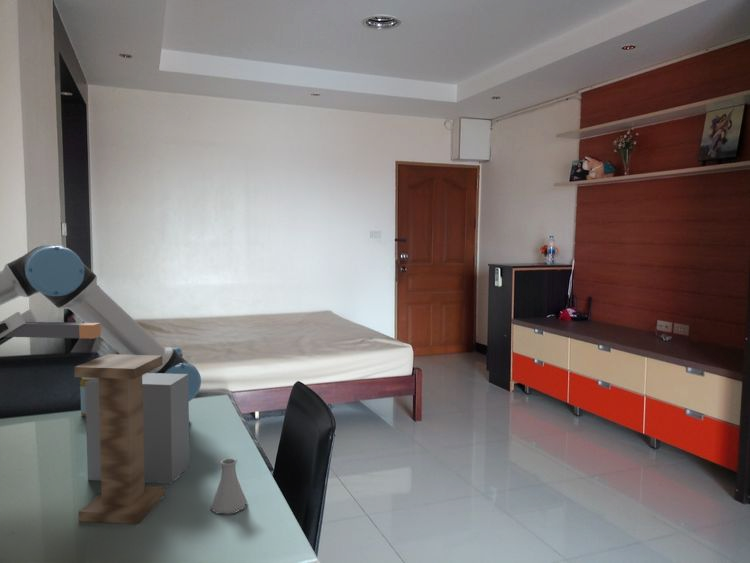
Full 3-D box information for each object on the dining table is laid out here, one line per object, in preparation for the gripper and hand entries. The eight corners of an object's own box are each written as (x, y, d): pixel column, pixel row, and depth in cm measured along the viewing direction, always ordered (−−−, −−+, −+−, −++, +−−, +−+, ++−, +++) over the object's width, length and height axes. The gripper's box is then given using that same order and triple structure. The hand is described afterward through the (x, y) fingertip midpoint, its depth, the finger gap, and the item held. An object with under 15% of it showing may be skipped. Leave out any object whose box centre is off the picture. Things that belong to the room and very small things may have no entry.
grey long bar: (-15, 336, 117) (-16, 323, 117) (-6, 334, 120) (-6, 321, 120) (93, 338, 116) (92, 325, 115) (100, 336, 118) (100, 323, 118)
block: (87, 480, 129) (85, 382, 127) (111, 462, 138) (108, 371, 137) (172, 483, 127) (170, 384, 125) (189, 465, 137) (188, 374, 135)
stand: (78, 521, 110) (74, 367, 108) (111, 493, 122) (108, 354, 120) (137, 523, 109) (134, 368, 107) (164, 495, 121) (162, 355, 119)
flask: (253, 502, 119) (253, 457, 118) (233, 518, 112) (233, 470, 111) (224, 496, 121) (224, 452, 120) (203, 512, 114) (203, 465, 114)
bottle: (95, 418, 171) (94, 370, 170) (76, 416, 173) (74, 369, 172) (110, 411, 178) (109, 365, 177) (91, 410, 180) (90, 364, 178)
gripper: (-24, 374, 128) (59, 325, 126) (-85, 394, 112) (9, 338, 110) (-41, 346, 128) (42, 297, 125) (-105, 362, 112) (-11, 305, 110)
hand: (26, 316), depth 118 cm, fingers closed on grey long bar, 3 cm apart
